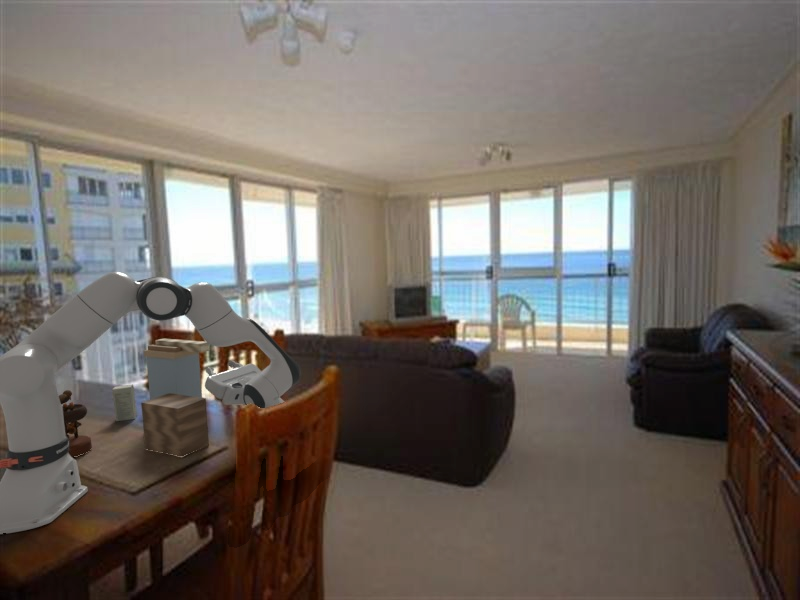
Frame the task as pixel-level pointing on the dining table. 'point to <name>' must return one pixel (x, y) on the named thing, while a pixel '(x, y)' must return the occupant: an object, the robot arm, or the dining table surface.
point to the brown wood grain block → (175, 424)
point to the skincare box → (124, 402)
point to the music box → (74, 425)
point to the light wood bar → (185, 345)
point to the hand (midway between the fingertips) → (219, 365)
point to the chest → (173, 371)
